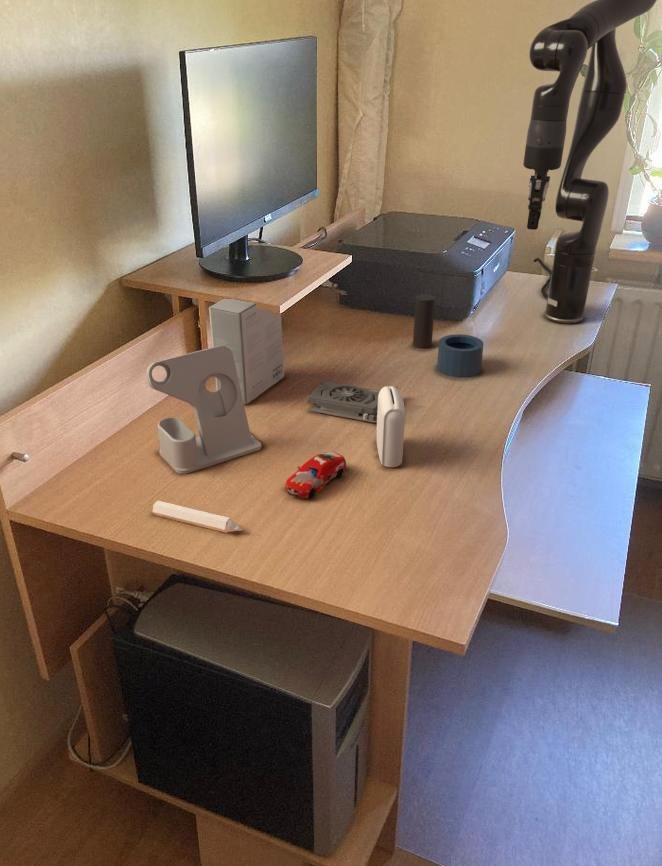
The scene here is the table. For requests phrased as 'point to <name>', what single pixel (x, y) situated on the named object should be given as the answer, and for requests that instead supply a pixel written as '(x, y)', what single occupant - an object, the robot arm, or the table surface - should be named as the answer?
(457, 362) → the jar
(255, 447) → the phone holder
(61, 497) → the table surface
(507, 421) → the table surface
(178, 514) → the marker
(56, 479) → the table surface
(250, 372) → the hard drive box
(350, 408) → the graphics card
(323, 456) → the race car
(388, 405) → the photo printer
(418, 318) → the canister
